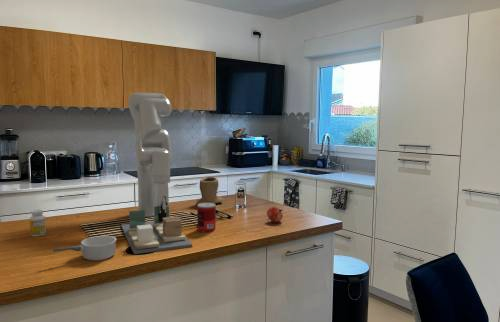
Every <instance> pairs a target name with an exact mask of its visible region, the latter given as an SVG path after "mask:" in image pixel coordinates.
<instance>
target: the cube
mask: <svg viewBox="0 0 500 322" xmlns="http://www.w3.org/2000/svg"><path fill="white" fill-rule="evenodd" d="M182 223H183V222H182V219H181V218H180V217H179V216H169V217H167V218H163V234H164V235H165V236H166V237H171V236H180V235H182V233H183V231H182V229H183V228H182V227H183V226H182V225H183V224H182Z"/></svg>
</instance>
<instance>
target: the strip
mask: <svg viewBox="0 0 500 322" xmlns="http://www.w3.org/2000/svg"><path fill="white" fill-rule="evenodd" d="M161 208H162V207H161ZM158 213H159V207H154V216H153V219H154V220H153V221H154V223H153V227H154V228H155V230H156V231H157V232H158V234H159V235H160V236H161V238H162V239H163V240H164V242H169V241H177V240H185V239H186V238H187V236H186V235H185V234H184V233H183V232H182V235H180V236H171V237H166V236H165V235H164V234H163V222H159V219H158ZM167 217H170V206H169V205H168V206H166V218H167Z"/></svg>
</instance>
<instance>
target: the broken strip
mask: <svg viewBox="0 0 500 322" xmlns="http://www.w3.org/2000/svg"><path fill="white" fill-rule="evenodd" d="M128 213H129V214H128V216H129V217H128V218H129V223H128V224H130V229H128V233H129V235H130V236H131V239H132V241H133V243H134V245H135V247H136V249H145V248H152V247H159V242H158V241H157V239H156V238H155V237H154V235H153V241H150V242H141V243H139V241H138V240H137V226H139V225H145V222H146V217H145V210H139V211H137V210H131V211H129V212H128ZM133 235H134V236H133Z"/></svg>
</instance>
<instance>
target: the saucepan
mask: <svg viewBox="0 0 500 322" xmlns="http://www.w3.org/2000/svg"><path fill="white" fill-rule="evenodd" d="M116 241H117V238H116V237H115V236H111V235H97V236H91V237H88V238H84V239H82V240H81V241H80V244H81V245H75V246H74V245H72V246H66V247H65V246H64V247H59V248H53V253H56V252H63V251H70V250H72V251H75V252H82V258H84V259H86V260H89V261H103V260H106V259H109V258H111V257H112V256H114V255H115V254H116V251H117V250H116Z"/></svg>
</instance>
